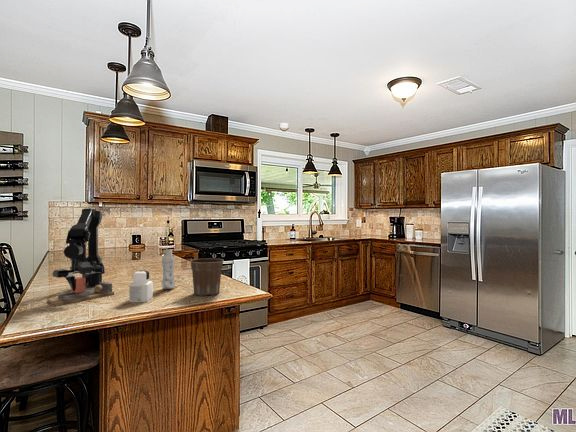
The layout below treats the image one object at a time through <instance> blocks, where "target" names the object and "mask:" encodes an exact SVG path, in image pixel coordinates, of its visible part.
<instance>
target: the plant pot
mask: <svg viewBox="0 0 576 432" xmlns="http://www.w3.org/2000/svg"><path fill="white" fill-rule="evenodd" d="M224 261H225V260H224V259H223V258H206V257H205V258H195V259H190V260H189V262H190V268H191V272H192V285H193V286H192V287H193V294H194V295H197V296H201V297H202V296H204V297H205V296H208V295H210V296H214V295H218V294H219V293H220V292H221V291H220V287H221V278H222V269H223V264H224Z"/></svg>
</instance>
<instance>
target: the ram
mask: <svg viewBox="0 0 576 432" xmlns="http://www.w3.org/2000/svg"><path fill="white" fill-rule="evenodd" d="M74 284H75V290H74V291H72V290H71V292H72V295H74V294H79V293H84V292H89V294H94V288H93V287H89V288H86V287H87V286H86V278H85V277H82V276H77V277H76V276H75V279H74Z"/></svg>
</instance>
